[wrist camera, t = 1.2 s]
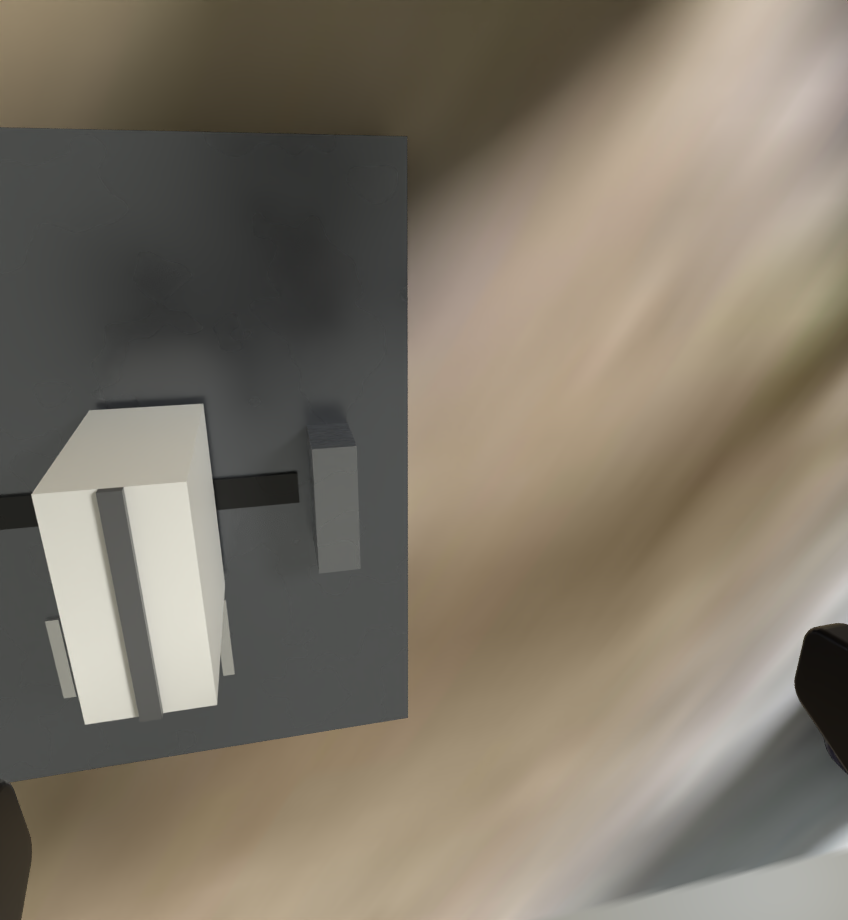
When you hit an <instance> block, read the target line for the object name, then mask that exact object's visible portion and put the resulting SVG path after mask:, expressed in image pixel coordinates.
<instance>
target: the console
mask: <svg viewBox="0 0 848 920" xmlns="http://www.w3.org/2000/svg"><path fill="white" fill-rule="evenodd" d="M189 404H203V406H204V414H205V422H206V430H207V439H208V447H209V455H210V464H211V472H212V480H213V489H214V497H215V505H216V513H217V522H218V530H219V538H220V547H221V555H222V563H223V571H224V580H225V593H224V608H223V623H222V638H221V654H220V669H219V684H218V699H217V705H213V706H207V707H200V708H193V709H187V710H180V711H173V712H167V713H163V718H162V719H159V720H152V721H145V722H140V719H139V717H133V718H127V719H120V720H113V721H106V722H100V723H93V724H86V725H85V723H84V718H83V714H82V710H81V705H80V701H79V697H78V693H77V688H76V684H75V680H74V675H73V671H72V667H71V663H70V658H69V654H68V650H67V646H66V641H65V637H64V633H63V628H62V624H61V620H60V616H59V611H58V607H57V603H56V599H55V594H54V590H53V586H52V581H51V577H50V573H49V569H48V564H47V560H46V556H45V551H44V547H43V543H42V539H41V534H40V530H39V526H38V522H37V517H36V513H35V509H34V504H33V500H32V496H31V494H32V493H33V491H34V490H35V488H36V487H37V485H38V484H39V482H40V481H41V480H42V478H43V477H44V475H45V474H46V472H47V471H48V469H49V468H50V467H51V465H52V464H53V462H54V461H55V459H56V458H57V456H58V455H59V454H60V452H61V451H62V449H63V448H64V446H65V445H66V443H67V442H68V441H69V439H70V438H71V436H72V435H73V433H74V432H75V430H76V429H77V427H78V426H79V425H80V423H81V422H82V420H83V419H84V417H85V416H86V414H87V413H88V412H89V410H104V409H121V408H138V407H155V406H172V405H189ZM403 718H408V345H407V136H371V135H325V134H279V133H233V132H188V131H142V130H96V129H50V128H5V127H0V779H3V780H6V781H8V782H15V781H21V780H28V779H34V778H40V777H46V776H52V775H58V774H64V773H71V772H77V771H83V770H89V769H95V768H101V767H107V766H114V765H120V764H126V763H132V762H138V761H144V760H151V759H157V758H163V757H169V756H175V755H181V754H187V753H194V752H200V751H206V750H212V749H218V748H224V747H230V746H237V745H243V744H249V743H255V742H261V741H267V740H274V739H280V738H286V737H292V736H298V735H304V734H310V733H317V732H323V731H329V730H335V729H341V728H347V727H353V726H360V725H366V724H372V723H378V722H384V721H390V720H397V719H403Z"/></svg>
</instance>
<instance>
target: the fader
mask: <svg viewBox="0 0 848 920" xmlns="http://www.w3.org/2000/svg"><path fill="white" fill-rule="evenodd" d="M31 496H32V500H33V504H34V509H35V513H36V517H37V522H38V526H39V530H40V534H41V539H42V543H43V547H44V551H45V556H46V560H47V564H48V569H49V573H50V577H51V581H52V586H53V590H54V594H55V599H56V603H57V607H58V611H59V616H60V620H61V624H62V628H63V633H64V637H65V641H66V646H67V650H68V654H69V658H70V663H71V667H72V671H73V675H74V680H75V684H76V688H77V693H78V697H79V701H80V705H81V710H82V714H83V718H84V723H85V725H86V724H93V723H100V722H106V721H113V720H120V719H127V718H133V717H139V719H140V722H145V721H152V720H159V719H162V718H163V713H167V712H173V711H180V710H187V709H193V708H200V707H207V706H213V705H217V699H218V684H219V669H220V654H221V638H222V623H223V608H224V593H225V580H224V571H223V563H222V555H221V547H220V538H219V530H218V522H217V513H216V505H215V497H214V489H213V480H212V472H211V464H210V455H209V447H208V439H207V430H206V422H205V414H204V406H203V404H189V405H172V406H155V407H138V408H121V409H104V410H89V412H88V413H87V414H86V416H85V417H84V419H83V420H82V422H81V423H80V425H79V426H78V427H77V429H76V430H75V432H74V433H73V435H72V436H71V438H70V439H69V441H68V442H67V443H66V445H65V446H64V448H63V449H62V451H61V452H60V454H59V455H58V456H57V458H56V459H55V461H54V462H53V464H52V465H51V467H50V468H49V469H48V471H47V472H46V474H45V475H44V477H43V478H42V480H41V481H40V482H39V484H38V485H37V487H36V488H35V490H34V491H33V493H32V494H31Z"/></svg>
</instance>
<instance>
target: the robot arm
mask: <svg viewBox="0 0 848 920" xmlns="http://www.w3.org/2000/svg"><path fill="white" fill-rule="evenodd" d="M794 683H795V690H796V694H797V696H798V698H799V700H800V702H801V704H802V705H803V707H804V708H805V710H806V711H807V713H808V714H809V716H810V717H811V719H812V720H813V722H814V723H815V725H816V726H817V728H818V729H819V731H820V732H821V734H822V735H823V737H824V738H825V740H826V741H827V743H828V744H829V746H830V747H831V749H832V750H833V752H834V753H835V755H836V756H837V758H838V759H839V761H840V762H841V764H842V765H843V767H844V768H845V770H846V771H847V773H848V625H847V624H843V623H835V624H829V625H824V626H818V627H814V628H812V629H810V630H809V631H808V632H807V633H806V635H805V637H804V640H803V645H802V649H801V653H800V658H799V662H798V666H797V670H796V675H795V680H794ZM31 858H32V844H31V837H30V834H29V831H28V828H27V825H26V822H25V820H24V817H23V814H22V811H21V808H20V806H19V803H18V800H17V797H16V794H15V792H14V789H13V787H12V785H11V784H10V783H9V782H8V781H6V780H3V779H0V920H21V918H22V912H23V906H24V901H25V895H26V889H27V883H28V878H29V872H30V866H31Z"/></svg>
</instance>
